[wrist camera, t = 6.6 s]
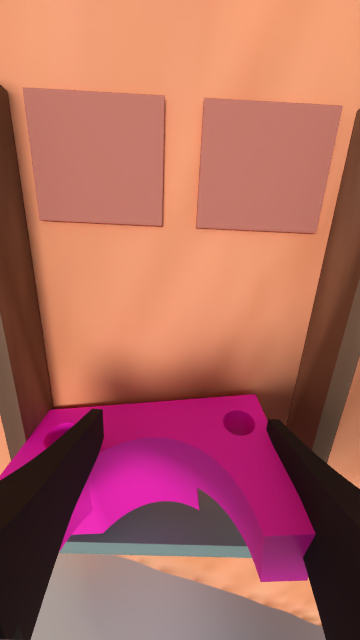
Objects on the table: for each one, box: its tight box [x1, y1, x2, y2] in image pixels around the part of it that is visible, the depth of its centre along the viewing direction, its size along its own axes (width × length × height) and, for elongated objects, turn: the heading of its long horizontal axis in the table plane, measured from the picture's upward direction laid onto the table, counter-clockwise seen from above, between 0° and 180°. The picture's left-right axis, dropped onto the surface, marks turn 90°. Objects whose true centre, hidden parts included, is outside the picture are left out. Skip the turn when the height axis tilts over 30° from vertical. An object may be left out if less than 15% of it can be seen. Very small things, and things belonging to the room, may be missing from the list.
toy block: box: [0, 394, 316, 582], centre depth 13 cm, size 15×6×8 cm, turn 96°
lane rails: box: [0, 85, 360, 463], centre depth 13 cm, size 20×26×3 cm
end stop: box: [59, 488, 252, 558], centre depth 17 cm, size 20×1×4 cm, turn 87°
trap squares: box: [23, 87, 342, 234], centre depth 12 cm, size 16×6×1 cm, turn 87°
